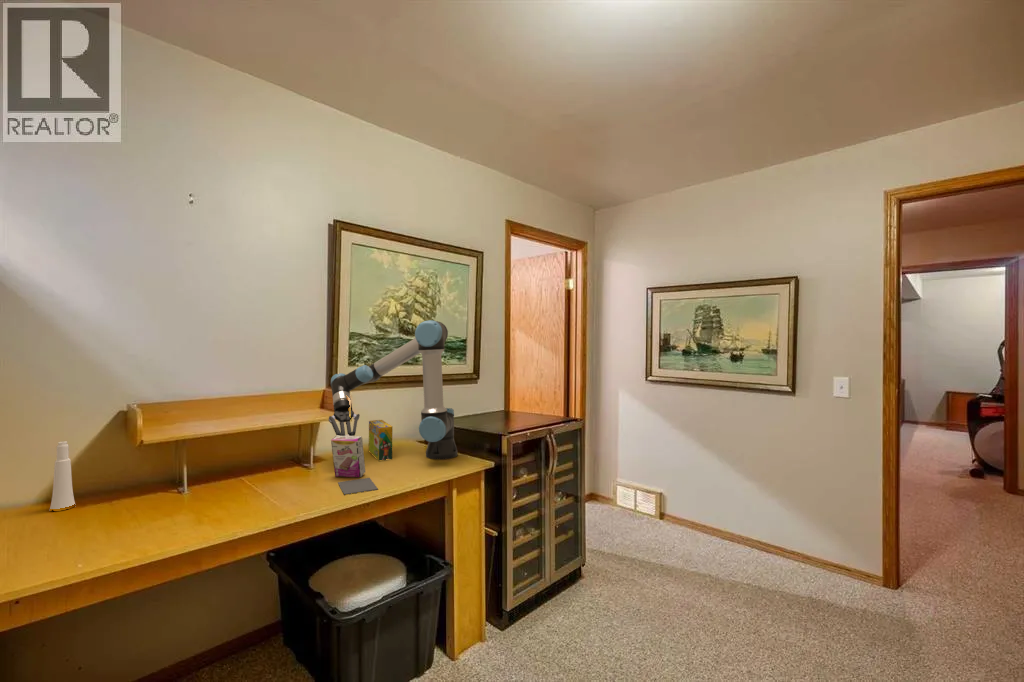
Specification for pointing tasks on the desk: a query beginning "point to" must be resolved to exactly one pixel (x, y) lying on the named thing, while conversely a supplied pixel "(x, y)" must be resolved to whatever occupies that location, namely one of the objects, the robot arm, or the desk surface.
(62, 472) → the cosmetic bottle
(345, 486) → the mat
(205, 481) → the desk surface
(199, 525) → the desk surface
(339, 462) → the candy bar box
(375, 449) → the fingerpaint box
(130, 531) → the desk surface
